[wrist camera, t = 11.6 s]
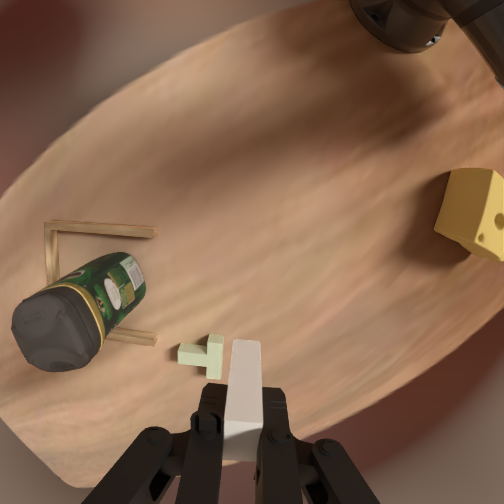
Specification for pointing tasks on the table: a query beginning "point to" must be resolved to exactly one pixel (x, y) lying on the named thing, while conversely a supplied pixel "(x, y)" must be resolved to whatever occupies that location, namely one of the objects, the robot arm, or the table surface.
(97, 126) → the table surface
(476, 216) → the cheese
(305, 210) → the table surface
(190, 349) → the sage T block
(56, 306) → the coffee jar
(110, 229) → the oak frame
